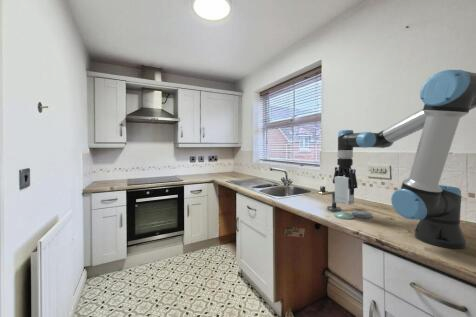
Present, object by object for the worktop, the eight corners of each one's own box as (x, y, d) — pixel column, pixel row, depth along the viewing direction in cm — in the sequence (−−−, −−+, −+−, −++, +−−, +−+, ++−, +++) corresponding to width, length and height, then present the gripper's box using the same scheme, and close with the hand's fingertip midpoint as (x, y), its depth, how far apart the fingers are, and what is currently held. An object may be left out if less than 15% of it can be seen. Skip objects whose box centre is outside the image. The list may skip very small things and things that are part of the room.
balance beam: (353, 192, 131) (353, 184, 130) (321, 196, 126) (320, 188, 126) (346, 190, 137) (346, 183, 137) (315, 194, 133) (315, 186, 133)
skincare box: (354, 203, 116) (355, 176, 115) (348, 205, 112) (349, 177, 112) (339, 200, 123) (340, 175, 122) (333, 202, 119) (334, 176, 119)
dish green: (358, 218, 114) (358, 216, 114) (341, 220, 112) (341, 217, 112) (345, 213, 124) (345, 211, 123) (330, 214, 122) (330, 212, 122)
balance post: (344, 210, 129) (344, 194, 129) (332, 211, 127) (332, 195, 127) (335, 207, 137) (335, 191, 136) (324, 207, 135) (324, 192, 135)
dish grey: (376, 217, 116) (376, 215, 116) (360, 218, 114) (360, 216, 114) (362, 212, 126) (362, 210, 126) (347, 213, 124) (347, 210, 124)
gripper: (366, 159, 106) (365, 203, 107) (337, 157, 128) (336, 193, 129) (353, 159, 105) (352, 203, 106) (326, 157, 126) (325, 194, 127)
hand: (343, 198), depth 117 cm, fingers closed on skincare box, 9 cm apart
